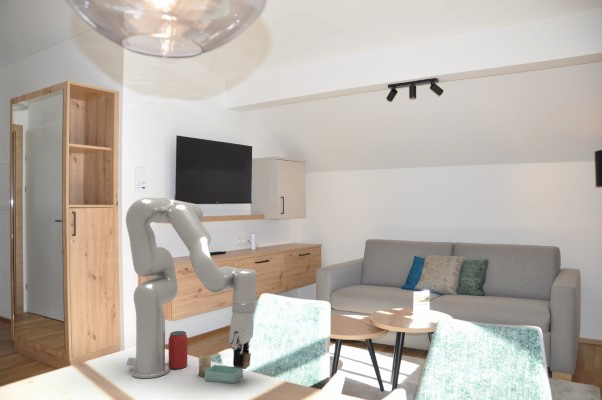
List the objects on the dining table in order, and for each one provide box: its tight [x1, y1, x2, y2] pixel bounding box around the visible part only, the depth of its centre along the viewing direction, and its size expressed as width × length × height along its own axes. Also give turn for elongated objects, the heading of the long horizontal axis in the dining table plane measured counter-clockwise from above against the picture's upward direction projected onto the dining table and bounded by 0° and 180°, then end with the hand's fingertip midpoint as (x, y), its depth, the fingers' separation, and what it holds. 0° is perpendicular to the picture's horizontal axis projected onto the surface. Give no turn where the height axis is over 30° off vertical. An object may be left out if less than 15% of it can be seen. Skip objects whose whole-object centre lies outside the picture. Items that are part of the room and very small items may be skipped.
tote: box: [204, 364, 244, 385], centre depth 162 cm, size 10×7×3 cm, turn 75°
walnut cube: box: [233, 352, 252, 370], centre depth 159 cm, size 4×4×4 cm
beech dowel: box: [198, 355, 212, 378], centre depth 166 cm, size 4×4×6 cm
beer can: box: [168, 330, 189, 370], centre depth 174 cm, size 7×7×12 cm
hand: (240, 362), depth 159 cm, fingers closed on walnut cube, 4 cm apart
